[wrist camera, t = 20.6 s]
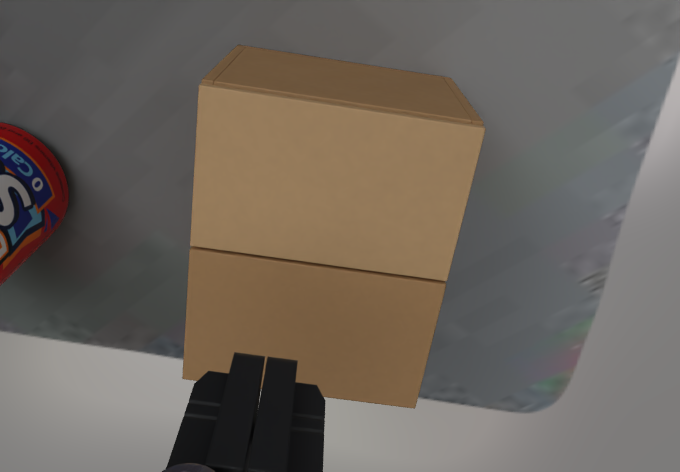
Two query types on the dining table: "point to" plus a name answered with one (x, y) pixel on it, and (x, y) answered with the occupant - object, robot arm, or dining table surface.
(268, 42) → the dining table surface
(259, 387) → the robot arm
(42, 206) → the soda can
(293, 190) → the flap
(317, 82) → the carton
